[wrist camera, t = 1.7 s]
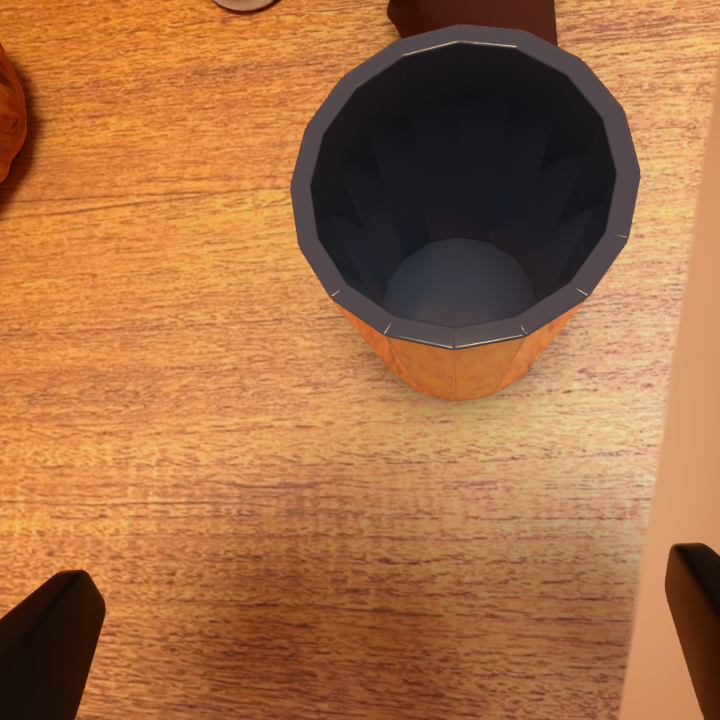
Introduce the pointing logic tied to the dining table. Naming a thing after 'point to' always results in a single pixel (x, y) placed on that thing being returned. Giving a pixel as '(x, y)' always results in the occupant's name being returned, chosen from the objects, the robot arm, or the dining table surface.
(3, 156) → the croissant
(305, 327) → the dining table surface
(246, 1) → the chess piece
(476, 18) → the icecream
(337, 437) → the dining table surface
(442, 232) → the cup
